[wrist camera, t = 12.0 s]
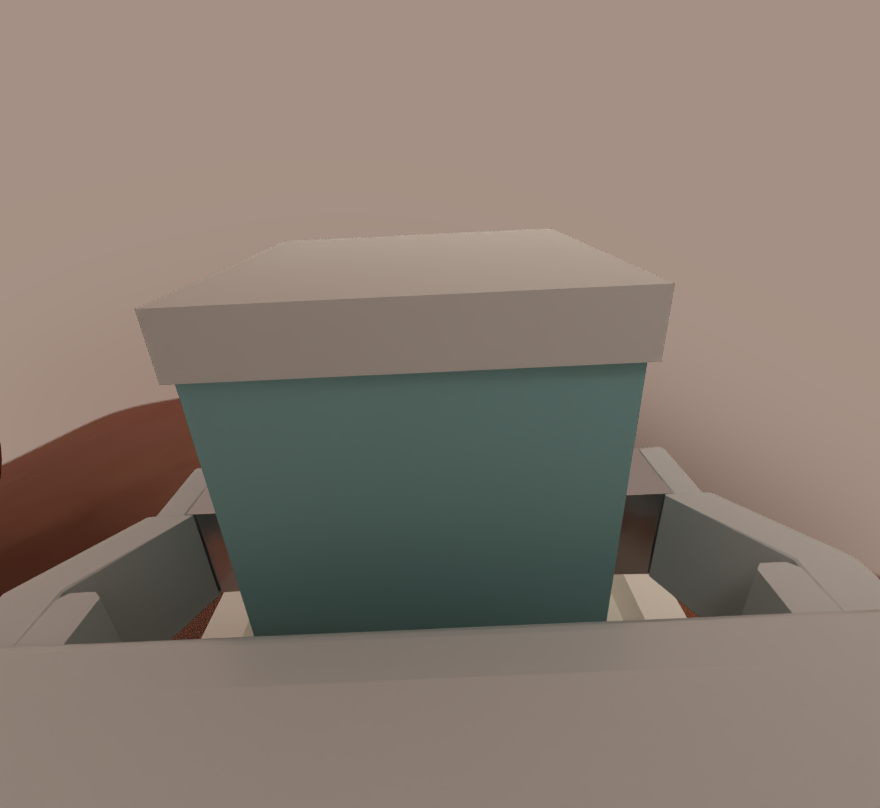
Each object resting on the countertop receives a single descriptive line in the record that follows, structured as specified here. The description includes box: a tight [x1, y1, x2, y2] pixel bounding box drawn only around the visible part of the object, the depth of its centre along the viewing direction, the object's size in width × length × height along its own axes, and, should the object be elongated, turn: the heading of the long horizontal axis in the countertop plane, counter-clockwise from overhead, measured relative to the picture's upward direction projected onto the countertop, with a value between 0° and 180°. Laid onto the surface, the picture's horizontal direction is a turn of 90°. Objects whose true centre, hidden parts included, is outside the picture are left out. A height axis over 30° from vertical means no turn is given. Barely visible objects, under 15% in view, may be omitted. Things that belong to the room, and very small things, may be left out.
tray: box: [201, 574, 687, 639], centre depth 12 cm, size 14×16×2 cm
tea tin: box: [135, 228, 675, 636], centre depth 10 cm, size 5×5×12 cm
